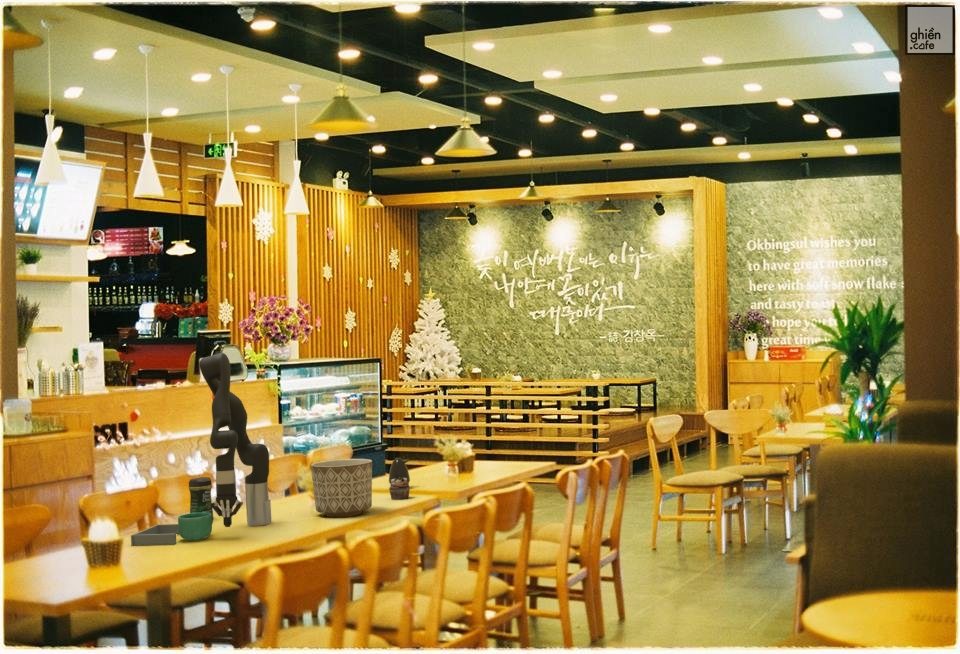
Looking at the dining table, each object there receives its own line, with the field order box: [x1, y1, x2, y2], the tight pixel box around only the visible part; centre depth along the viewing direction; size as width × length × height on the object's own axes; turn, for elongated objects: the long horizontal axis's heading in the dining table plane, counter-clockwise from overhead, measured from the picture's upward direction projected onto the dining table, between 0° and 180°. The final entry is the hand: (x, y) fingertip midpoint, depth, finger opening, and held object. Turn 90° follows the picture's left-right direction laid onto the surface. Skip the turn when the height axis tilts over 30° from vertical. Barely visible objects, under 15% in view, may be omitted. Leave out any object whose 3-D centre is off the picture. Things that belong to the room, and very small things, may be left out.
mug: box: [177, 512, 215, 542], centre depth 448 cm, size 17×13×10 cm
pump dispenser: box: [388, 457, 411, 487], centre depth 559 cm, size 10×10×15 cm
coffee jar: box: [188, 476, 214, 516], centre depth 493 cm, size 10×8×19 cm
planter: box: [310, 458, 373, 518], centre depth 490 cm, size 26×26×22 cm
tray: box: [130, 523, 180, 547], centre depth 450 cm, size 18×23×4 cm
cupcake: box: [388, 477, 411, 501], centre depth 526 cm, size 10×10×10 cm
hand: (227, 526), depth 446 cm, fingers closed
